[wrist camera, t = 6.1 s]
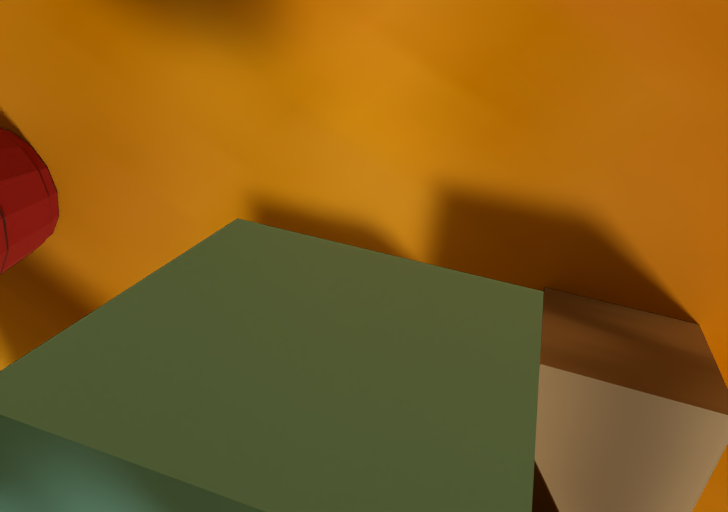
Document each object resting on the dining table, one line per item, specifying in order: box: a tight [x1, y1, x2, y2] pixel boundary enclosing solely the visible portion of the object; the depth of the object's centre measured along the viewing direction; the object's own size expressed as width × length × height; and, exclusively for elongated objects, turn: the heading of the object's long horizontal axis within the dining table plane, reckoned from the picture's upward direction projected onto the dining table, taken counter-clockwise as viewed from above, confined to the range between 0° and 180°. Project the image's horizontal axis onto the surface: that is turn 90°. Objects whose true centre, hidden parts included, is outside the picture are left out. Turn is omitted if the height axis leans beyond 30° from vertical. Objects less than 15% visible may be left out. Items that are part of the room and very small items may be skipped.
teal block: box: [0, 218, 544, 512], centre depth 8 cm, size 5×5×5 cm
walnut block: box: [535, 287, 728, 512], centre depth 18 cm, size 5×5×5 cm
